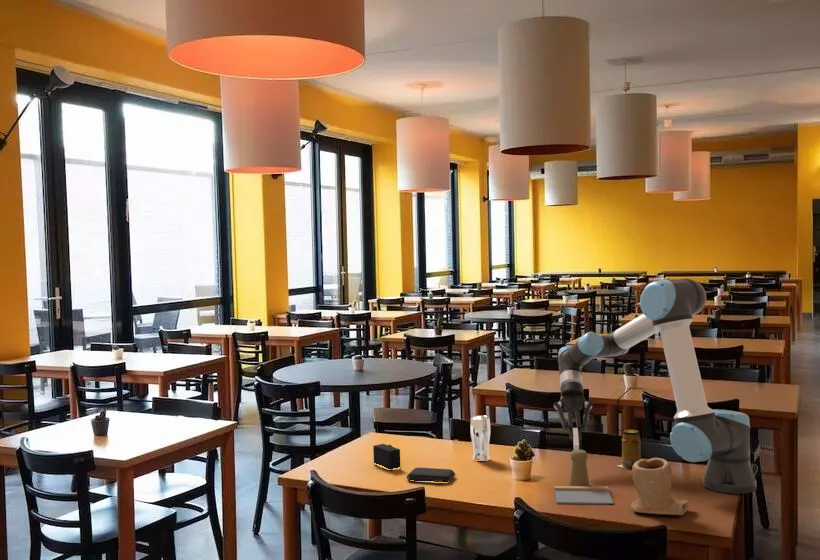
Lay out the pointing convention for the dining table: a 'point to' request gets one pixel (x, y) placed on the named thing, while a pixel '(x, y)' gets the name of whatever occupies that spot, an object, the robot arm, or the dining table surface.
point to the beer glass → (480, 437)
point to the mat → (582, 495)
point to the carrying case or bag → (431, 474)
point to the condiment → (630, 448)
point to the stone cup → (655, 488)
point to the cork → (579, 468)
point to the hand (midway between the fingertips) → (576, 447)
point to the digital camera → (386, 456)
